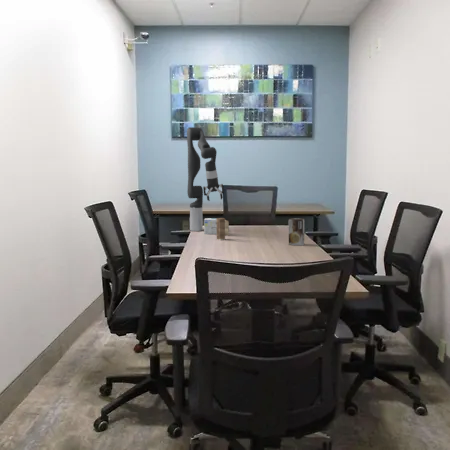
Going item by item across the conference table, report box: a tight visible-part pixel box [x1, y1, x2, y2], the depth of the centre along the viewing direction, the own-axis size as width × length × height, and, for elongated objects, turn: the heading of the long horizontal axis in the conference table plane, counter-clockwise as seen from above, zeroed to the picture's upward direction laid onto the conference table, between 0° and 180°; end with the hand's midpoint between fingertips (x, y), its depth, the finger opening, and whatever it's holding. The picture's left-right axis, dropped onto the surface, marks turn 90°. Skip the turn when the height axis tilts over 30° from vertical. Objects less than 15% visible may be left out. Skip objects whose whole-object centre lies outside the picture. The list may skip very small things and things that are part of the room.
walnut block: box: [216, 217, 226, 241], centre depth 301 cm, size 4×4×14 cm
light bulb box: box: [203, 217, 217, 235], centre depth 325 cm, size 11×7×11 cm, turn 84°
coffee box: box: [287, 217, 306, 246], centre depth 281 cm, size 9×6×16 cm
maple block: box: [225, 219, 230, 237], centre depth 318 cm, size 4×4×10 cm
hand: (215, 200), depth 315 cm, fingers open, 8 cm apart
